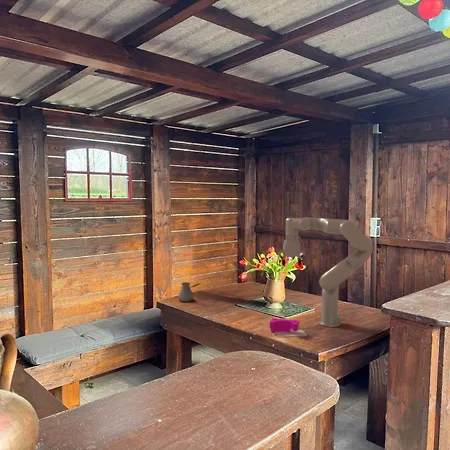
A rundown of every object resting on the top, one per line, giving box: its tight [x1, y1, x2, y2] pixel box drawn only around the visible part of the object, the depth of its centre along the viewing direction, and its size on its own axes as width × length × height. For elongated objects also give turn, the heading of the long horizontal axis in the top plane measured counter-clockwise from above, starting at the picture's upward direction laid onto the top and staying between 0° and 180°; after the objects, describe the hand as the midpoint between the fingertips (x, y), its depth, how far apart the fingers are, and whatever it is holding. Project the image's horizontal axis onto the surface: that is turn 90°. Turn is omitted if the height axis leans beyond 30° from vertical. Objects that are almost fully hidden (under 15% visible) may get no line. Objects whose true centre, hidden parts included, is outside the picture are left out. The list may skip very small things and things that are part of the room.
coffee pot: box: [178, 281, 201, 303], centre depth 289 cm, size 21×12×15 cm, turn 45°
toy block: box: [269, 317, 300, 333], centre depth 222 cm, size 15×6×8 cm
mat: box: [274, 329, 308, 338], centre depth 221 cm, size 16×9×1 cm, turn 97°
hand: (291, 265), depth 245 cm, fingers open, 9 cm apart
